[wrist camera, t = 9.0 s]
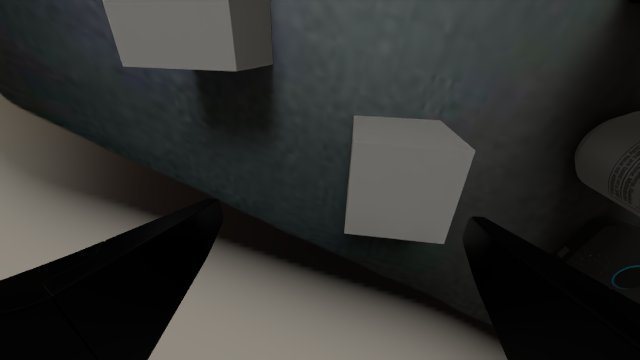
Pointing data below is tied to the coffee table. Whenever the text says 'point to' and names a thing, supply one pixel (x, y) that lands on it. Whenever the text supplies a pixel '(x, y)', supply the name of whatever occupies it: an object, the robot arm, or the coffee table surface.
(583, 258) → the smart home device
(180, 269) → the robot arm
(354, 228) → the grey stool
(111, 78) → the coffee table surface
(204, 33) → the grey piece
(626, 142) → the energy drink can
